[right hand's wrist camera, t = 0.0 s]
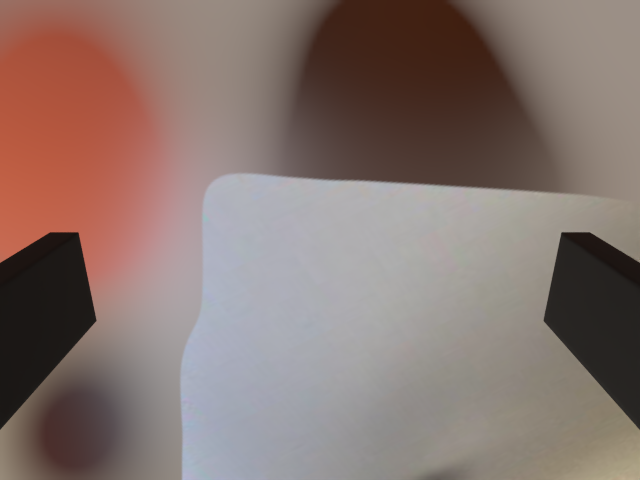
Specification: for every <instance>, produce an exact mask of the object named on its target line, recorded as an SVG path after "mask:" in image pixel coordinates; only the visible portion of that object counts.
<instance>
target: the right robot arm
mask: <svg viewBox="0 0 640 480" xmlns="http://www.w3.org/2000/svg"><path fill="white" fill-rule="evenodd" d="M95 322H96V316H95V311H94V306H93V301H92V296H91V292H90V287H89V282H88V277H87V272H86V267H85V262H84V258H83V253H82V248H81V243H80V238H79V233H78V232H50V233H49V234H47V235H45V236H44V237H42V238H40V239H39V240H37V241H35V242H34V243H32V244H30V245H29V246H27V247H26V248H24V249H22V250H21V251H19V252H17V253H16V254H14V255H13V256H11V257H9V258H8V259H6V260H4V261H3V262H1V263H0V429H1V428H2V427H3V426H4V425H5V424H6V423H7V421H8V420H9V419H10V418H11V417H12V416H13V415H14V413H15V412H16V411H17V410H18V409H19V408H20V407H21V406H22V404H23V403H24V402H25V401H26V400H27V399H28V398H29V396H30V395H31V394H32V393H33V392H34V391H35V390H36V388H37V387H38V386H39V385H40V384H41V383H42V382H43V381H44V379H45V378H46V377H47V376H48V375H49V374H50V373H51V372H52V370H53V369H54V368H55V367H56V366H57V365H58V364H59V363H60V361H61V360H62V359H63V358H64V357H65V356H66V355H67V353H68V352H69V351H70V350H71V349H72V348H73V347H74V346H75V344H76V343H77V342H78V341H79V340H80V339H81V338H82V337H83V335H84V334H85V333H86V332H87V331H88V330H89V329H90V327H91V326H92V325H93V324H94V323H95ZM544 322H545V323H546V324H547V325H548V326H549V327H550V329H551V330H552V331H553V332H554V333H555V334H556V335H557V337H558V338H559V339H560V340H561V341H562V342H563V343H564V344H565V346H566V347H567V348H568V349H569V350H570V351H571V352H572V353H573V355H574V356H575V357H576V358H577V359H578V360H579V361H580V363H581V364H582V365H583V366H584V367H585V368H586V369H587V370H588V372H589V373H590V374H591V375H592V376H593V377H594V378H595V380H596V381H597V382H598V383H599V384H600V385H601V386H602V387H603V389H604V390H605V391H606V392H607V393H608V394H609V395H610V396H611V398H612V399H613V400H614V401H615V402H616V403H617V404H618V406H619V407H620V408H621V409H622V410H623V411H624V412H625V413H626V415H627V416H628V417H629V418H630V419H631V420H632V421H633V423H634V424H635V425H636V426H637V427H638V428H639V429H640V263H639V262H637V261H636V260H634V259H632V258H631V257H629V256H628V255H626V254H624V253H623V252H621V251H619V250H618V249H616V248H614V247H613V246H611V245H610V244H608V243H606V242H605V241H603V240H601V239H600V238H598V237H596V236H595V235H593V234H591V233H590V232H562V233H561V238H560V243H559V248H558V252H557V257H556V262H555V267H554V272H553V277H552V282H551V287H550V292H549V296H548V301H547V306H546V311H545V316H544Z"/></svg>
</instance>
